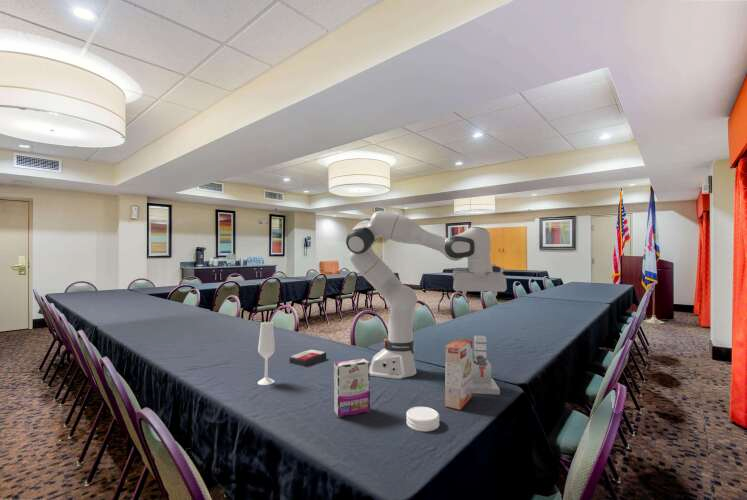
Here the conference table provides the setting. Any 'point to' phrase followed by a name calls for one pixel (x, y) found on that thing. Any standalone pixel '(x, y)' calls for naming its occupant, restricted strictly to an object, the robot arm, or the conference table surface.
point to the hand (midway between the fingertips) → (479, 302)
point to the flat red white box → (308, 357)
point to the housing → (483, 378)
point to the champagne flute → (266, 348)
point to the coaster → (422, 419)
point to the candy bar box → (351, 387)
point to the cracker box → (458, 373)
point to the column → (479, 348)
